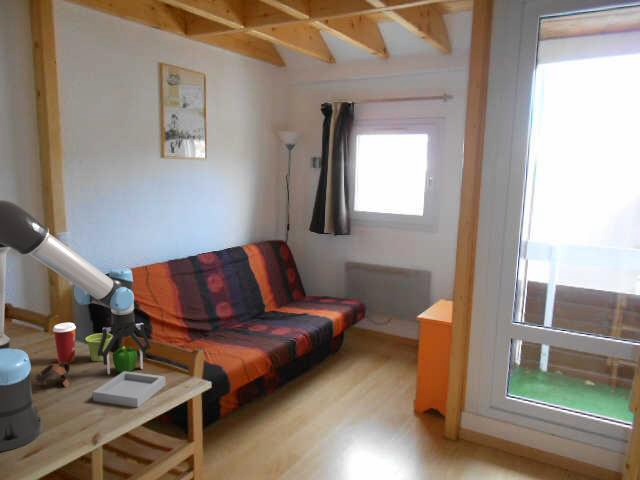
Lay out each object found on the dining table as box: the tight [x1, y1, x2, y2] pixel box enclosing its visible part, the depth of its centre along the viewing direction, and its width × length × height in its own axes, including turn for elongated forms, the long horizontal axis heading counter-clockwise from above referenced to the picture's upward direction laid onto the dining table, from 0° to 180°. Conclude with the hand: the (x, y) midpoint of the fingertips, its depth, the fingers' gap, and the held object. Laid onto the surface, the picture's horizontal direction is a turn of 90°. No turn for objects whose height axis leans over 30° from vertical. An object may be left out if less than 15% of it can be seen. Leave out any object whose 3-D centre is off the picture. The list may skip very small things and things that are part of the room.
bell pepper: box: [112, 345, 139, 374], centre depth 172 cm, size 8×8×10 cm
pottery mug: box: [34, 362, 72, 389], centre depth 161 cm, size 12×10×8 cm
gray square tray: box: [92, 371, 167, 408], centre depth 156 cm, size 16×16×3 cm
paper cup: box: [52, 322, 77, 364], centre depth 180 cm, size 8×8×14 cm
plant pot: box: [85, 332, 113, 362], centre depth 182 cm, size 9×9×9 cm
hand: (125, 369), depth 173 cm, fingers open, 10 cm apart
